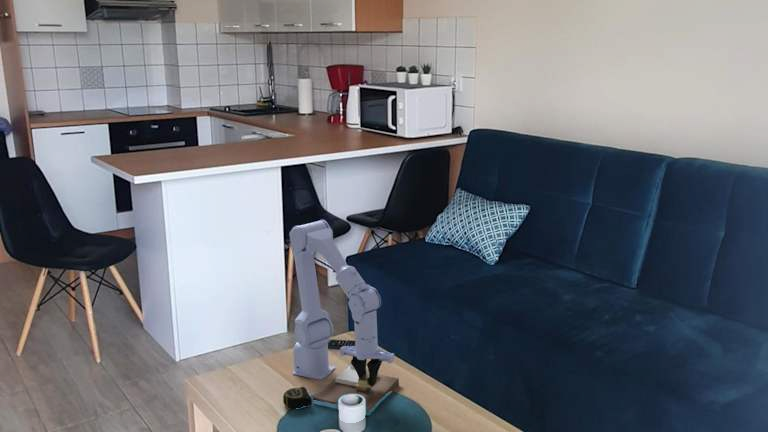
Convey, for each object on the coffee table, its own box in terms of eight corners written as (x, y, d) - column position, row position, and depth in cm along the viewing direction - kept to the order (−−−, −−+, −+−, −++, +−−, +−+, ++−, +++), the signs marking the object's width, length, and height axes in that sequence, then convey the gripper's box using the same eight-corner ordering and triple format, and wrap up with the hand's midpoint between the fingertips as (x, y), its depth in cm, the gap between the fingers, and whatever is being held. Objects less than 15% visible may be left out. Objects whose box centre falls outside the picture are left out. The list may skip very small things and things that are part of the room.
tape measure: (312, 409, 180) (312, 396, 179) (286, 414, 178) (285, 401, 177) (307, 397, 186) (306, 384, 185) (281, 401, 184) (280, 388, 183)
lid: (335, 382, 188) (335, 374, 188) (350, 369, 195) (349, 362, 195) (365, 388, 184) (364, 380, 184) (378, 375, 191) (378, 367, 191)
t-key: (349, 394, 181) (349, 377, 180) (362, 382, 187) (361, 366, 186) (365, 397, 179) (364, 381, 178) (377, 385, 185) (377, 369, 184)
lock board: (313, 404, 182) (313, 396, 181) (347, 374, 197) (347, 367, 197) (368, 416, 175) (367, 409, 174) (398, 385, 190) (398, 377, 190)
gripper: (333, 337, 178) (336, 386, 182) (386, 345, 173) (387, 395, 176) (345, 327, 185) (348, 374, 188) (396, 334, 179) (398, 382, 182)
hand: (368, 383), depth 182 cm, fingers closed on t-key, 2 cm apart
